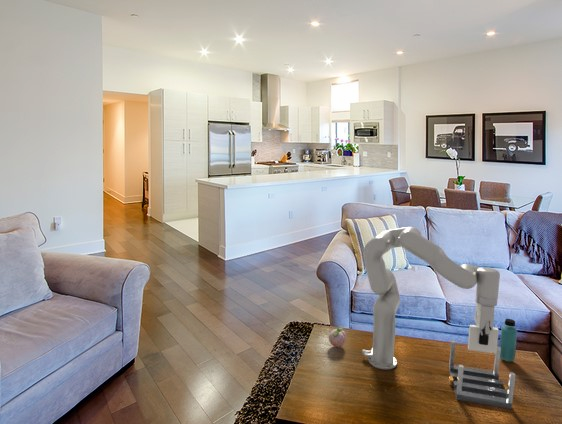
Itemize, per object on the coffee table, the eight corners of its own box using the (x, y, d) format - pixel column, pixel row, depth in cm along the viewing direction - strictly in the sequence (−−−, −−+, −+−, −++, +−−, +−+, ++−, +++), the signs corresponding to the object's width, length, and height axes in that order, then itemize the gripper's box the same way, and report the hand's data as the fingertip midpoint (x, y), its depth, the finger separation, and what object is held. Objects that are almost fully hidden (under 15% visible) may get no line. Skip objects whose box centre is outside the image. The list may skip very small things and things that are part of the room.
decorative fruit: (331, 341, 189) (331, 322, 187) (347, 344, 186) (347, 325, 184) (326, 350, 180) (326, 330, 179) (342, 353, 177) (343, 334, 176)
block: (468, 349, 150) (470, 326, 148) (467, 347, 151) (469, 324, 150) (496, 353, 147) (498, 330, 145) (495, 351, 149) (497, 327, 147)
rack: (453, 398, 145) (456, 366, 143) (445, 369, 165) (448, 339, 163) (515, 409, 139) (519, 375, 137) (499, 377, 159) (503, 347, 157)
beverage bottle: (516, 365, 168) (521, 324, 165) (500, 363, 169) (505, 322, 166) (511, 357, 174) (515, 317, 171) (495, 355, 176) (499, 316, 172)
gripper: (471, 291, 154) (468, 332, 157) (480, 306, 139) (476, 351, 142) (492, 293, 152) (488, 334, 155) (502, 308, 137) (498, 354, 140)
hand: (482, 342), depth 149 cm, fingers closed on block, 2 cm apart
